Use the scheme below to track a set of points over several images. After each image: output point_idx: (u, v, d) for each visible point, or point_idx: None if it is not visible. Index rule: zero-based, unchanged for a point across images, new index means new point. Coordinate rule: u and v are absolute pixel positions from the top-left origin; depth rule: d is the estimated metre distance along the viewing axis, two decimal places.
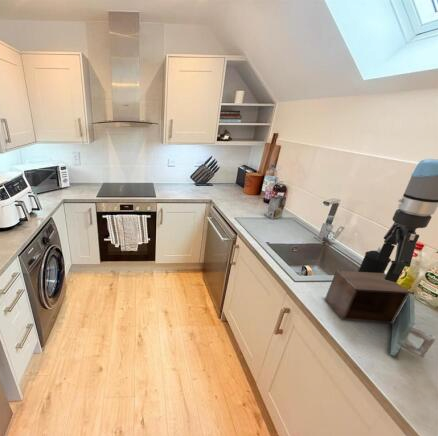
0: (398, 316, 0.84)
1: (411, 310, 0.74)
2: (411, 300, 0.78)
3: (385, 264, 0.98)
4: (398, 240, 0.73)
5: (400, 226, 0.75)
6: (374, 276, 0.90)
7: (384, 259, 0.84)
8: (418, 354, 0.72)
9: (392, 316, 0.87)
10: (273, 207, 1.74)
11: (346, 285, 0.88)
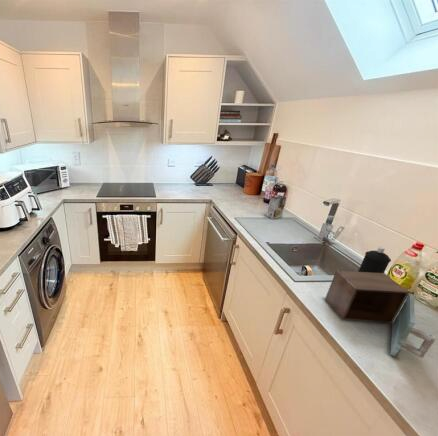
0: (398, 316, 0.84)
1: (411, 310, 0.74)
2: (411, 300, 0.78)
3: (385, 264, 0.98)
4: None
5: None
6: (374, 276, 0.90)
7: None
8: (418, 354, 0.72)
9: (392, 316, 0.87)
10: (273, 207, 1.74)
11: (346, 285, 0.88)
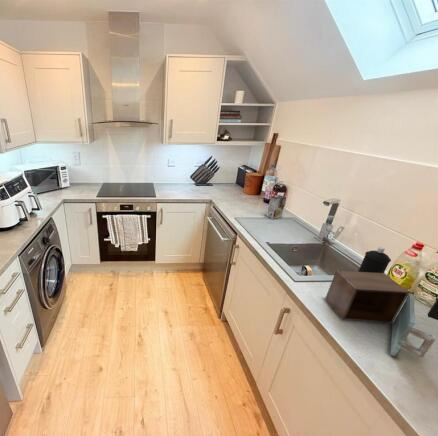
0: (398, 316, 0.84)
1: (411, 310, 0.74)
2: (411, 300, 0.78)
3: (385, 264, 0.98)
4: None
5: None
6: (374, 276, 0.90)
7: None
8: (418, 354, 0.72)
9: (392, 316, 0.87)
10: (273, 207, 1.74)
11: (346, 285, 0.88)
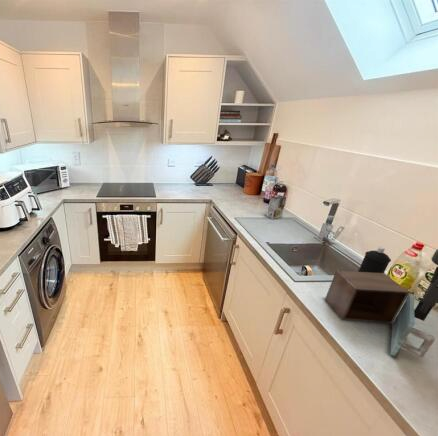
0: (398, 316, 0.84)
1: (411, 310, 0.74)
2: (411, 300, 0.78)
3: (385, 264, 0.98)
4: (431, 282, 0.69)
5: None
6: (374, 276, 0.90)
7: None
8: (418, 354, 0.72)
9: (392, 316, 0.87)
10: (273, 208, 1.74)
11: (346, 285, 0.88)
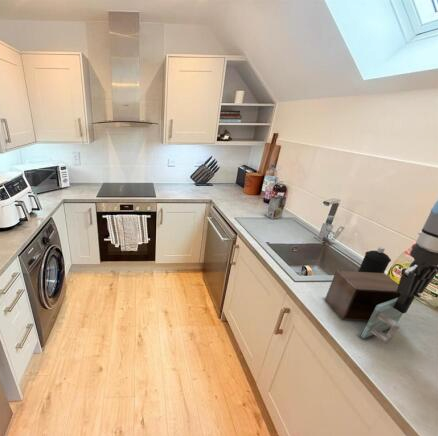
0: None
1: (391, 300, 0.78)
2: None
3: (385, 264, 0.98)
4: None
5: None
6: (374, 276, 0.90)
7: None
8: (384, 339, 0.77)
9: None
10: (273, 207, 1.74)
11: (346, 285, 0.88)
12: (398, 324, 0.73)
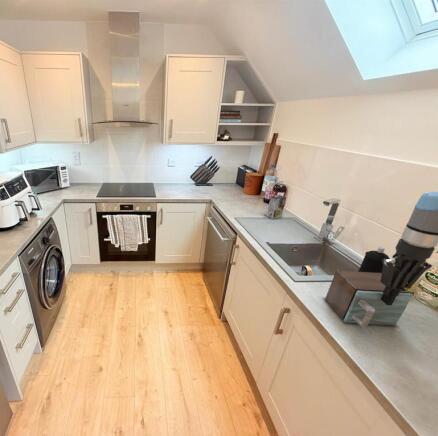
0: None
1: (378, 292, 0.82)
2: None
3: None
4: (393, 265, 0.77)
5: None
6: (374, 276, 0.90)
7: None
8: (360, 324, 0.82)
9: None
10: (273, 207, 1.74)
11: (346, 285, 0.88)
12: (372, 310, 0.79)
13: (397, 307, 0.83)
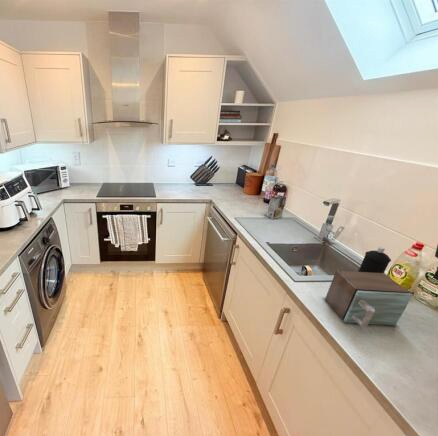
0: None
1: (378, 292, 0.82)
2: (397, 293, 0.82)
3: (385, 264, 0.98)
4: None
5: None
6: (374, 276, 0.90)
7: None
8: (360, 324, 0.82)
9: None
10: (273, 207, 1.74)
11: (346, 285, 0.88)
12: (372, 310, 0.79)
13: (397, 307, 0.83)
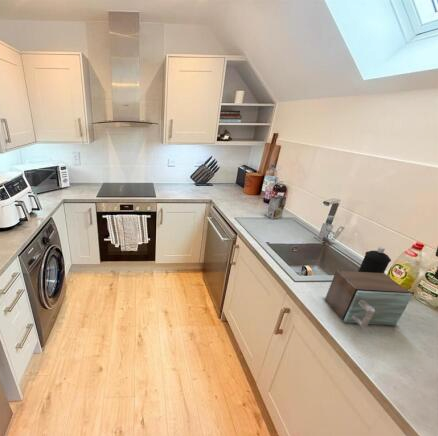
0: None
1: (378, 292, 0.82)
2: (397, 293, 0.82)
3: (385, 264, 0.98)
4: None
5: None
6: (374, 276, 0.90)
7: None
8: (360, 324, 0.82)
9: None
10: (273, 208, 1.74)
11: (346, 285, 0.88)
12: (372, 310, 0.79)
13: (397, 307, 0.83)
